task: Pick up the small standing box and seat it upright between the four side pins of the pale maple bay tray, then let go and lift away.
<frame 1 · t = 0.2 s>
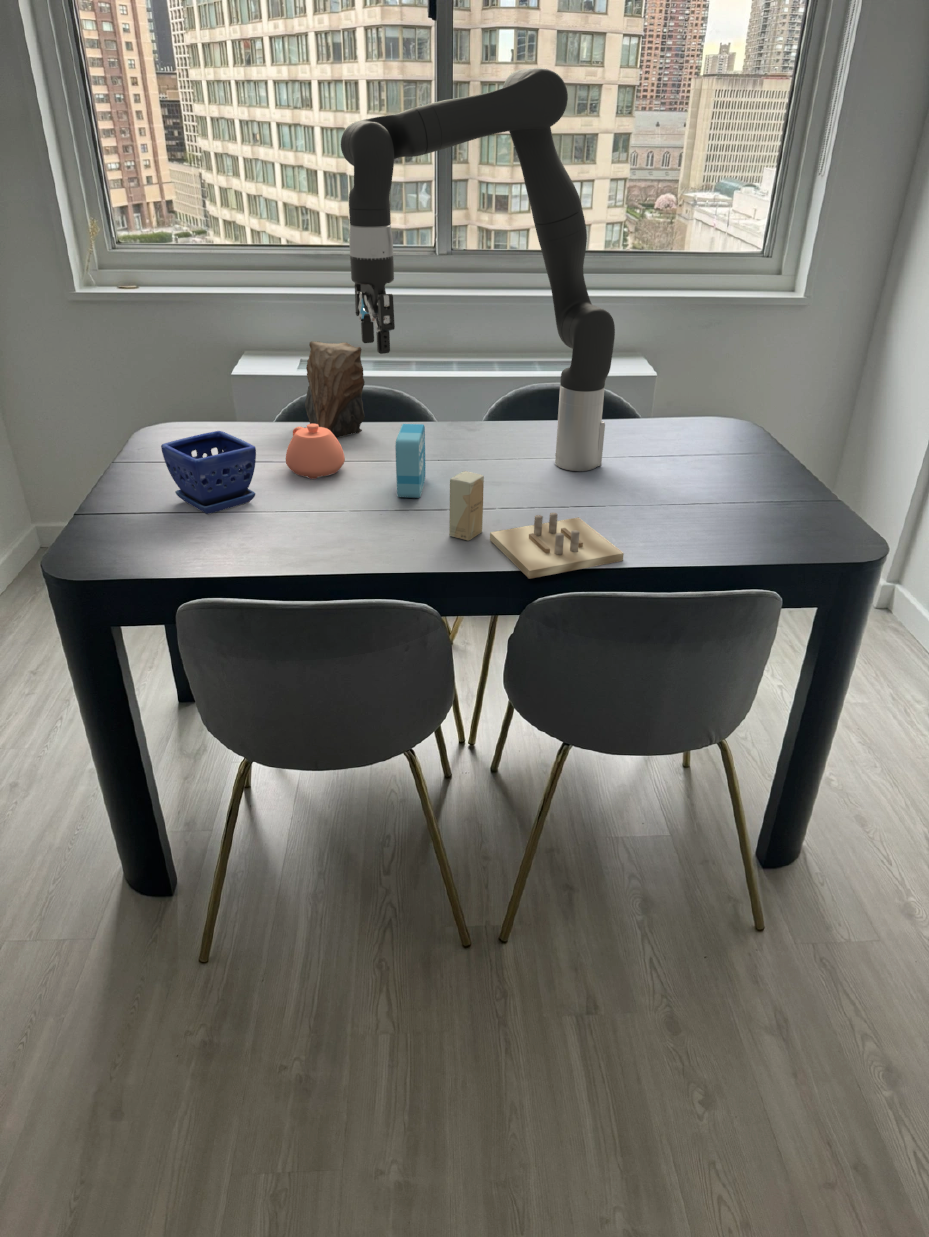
hand: (375, 347, 161), 29 cm above the table, fingers open, 8 cm apart
box: (466, 534, 160), on the table
data package: (411, 489, 179), on the table
flower pot: (216, 503, 171), on the table
bay tray: (554, 550, 155), on the table
owl: (331, 432, 208), on the table
sugar bowl: (314, 471, 187), on the table
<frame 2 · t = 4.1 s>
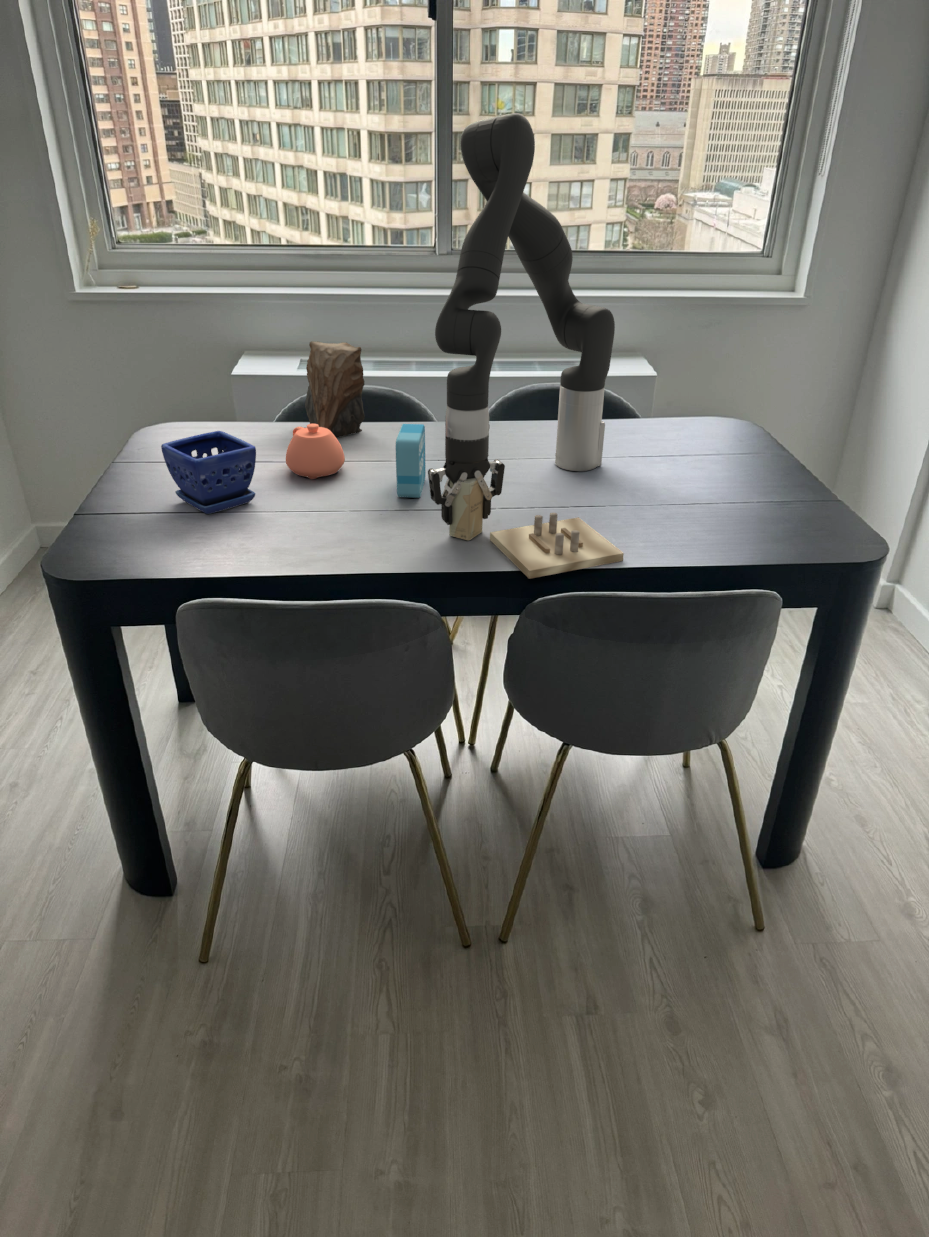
hand: (466, 520, 159), 3 cm above the table, fingers closed on box, 6 cm apart
box: (466, 534, 160), on the table, touching gripper
everything else where it was.
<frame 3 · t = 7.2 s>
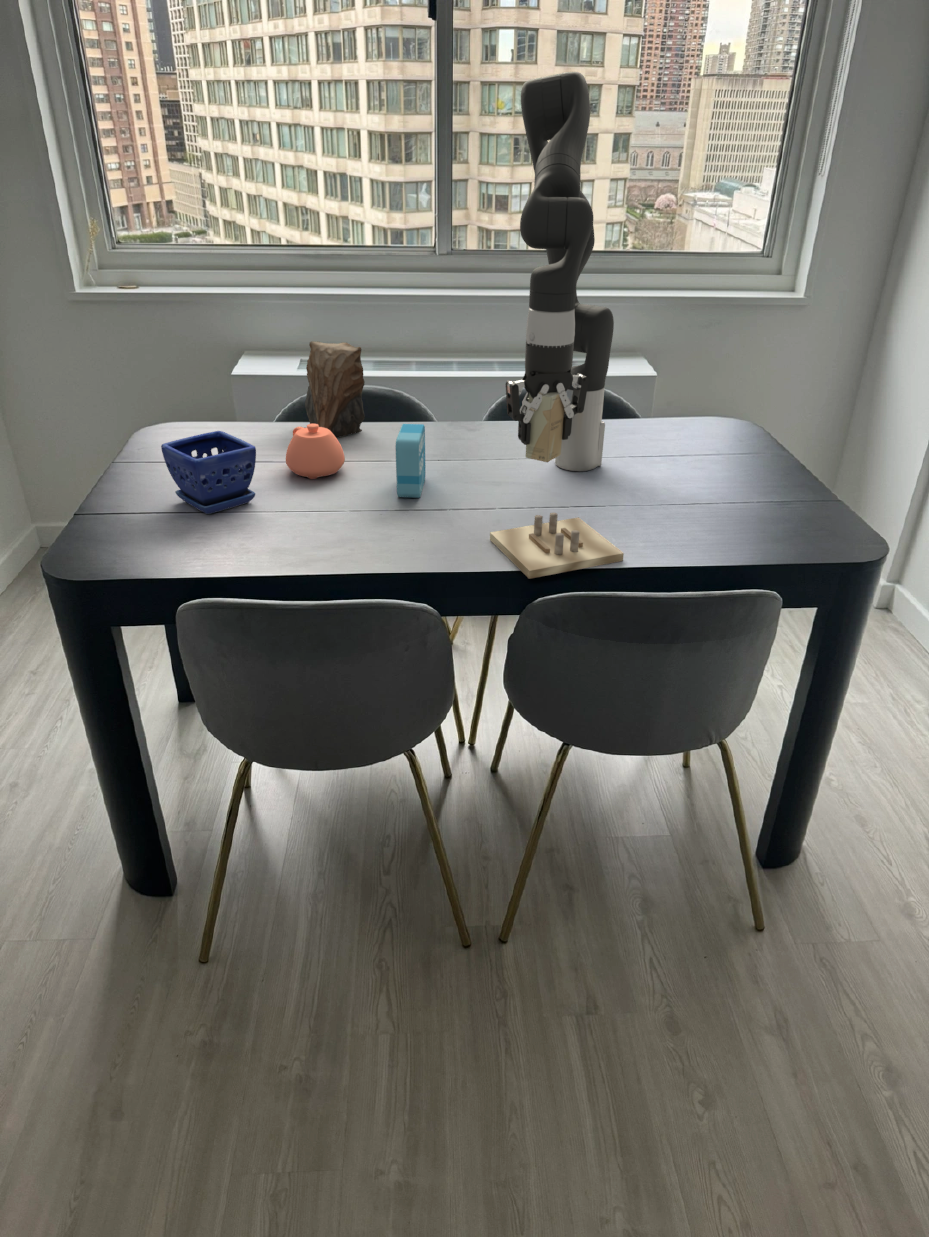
hand: (544, 440, 146), 20 cm above the table, fingers closed on box, 6 cm apart
box: (543, 457, 147), point 17 cm above the table, touching gripper
everything else where it was.
when the fingers open (6 cm above the table, at t = 10.4 s): box stays where it is, resting on bay tray.
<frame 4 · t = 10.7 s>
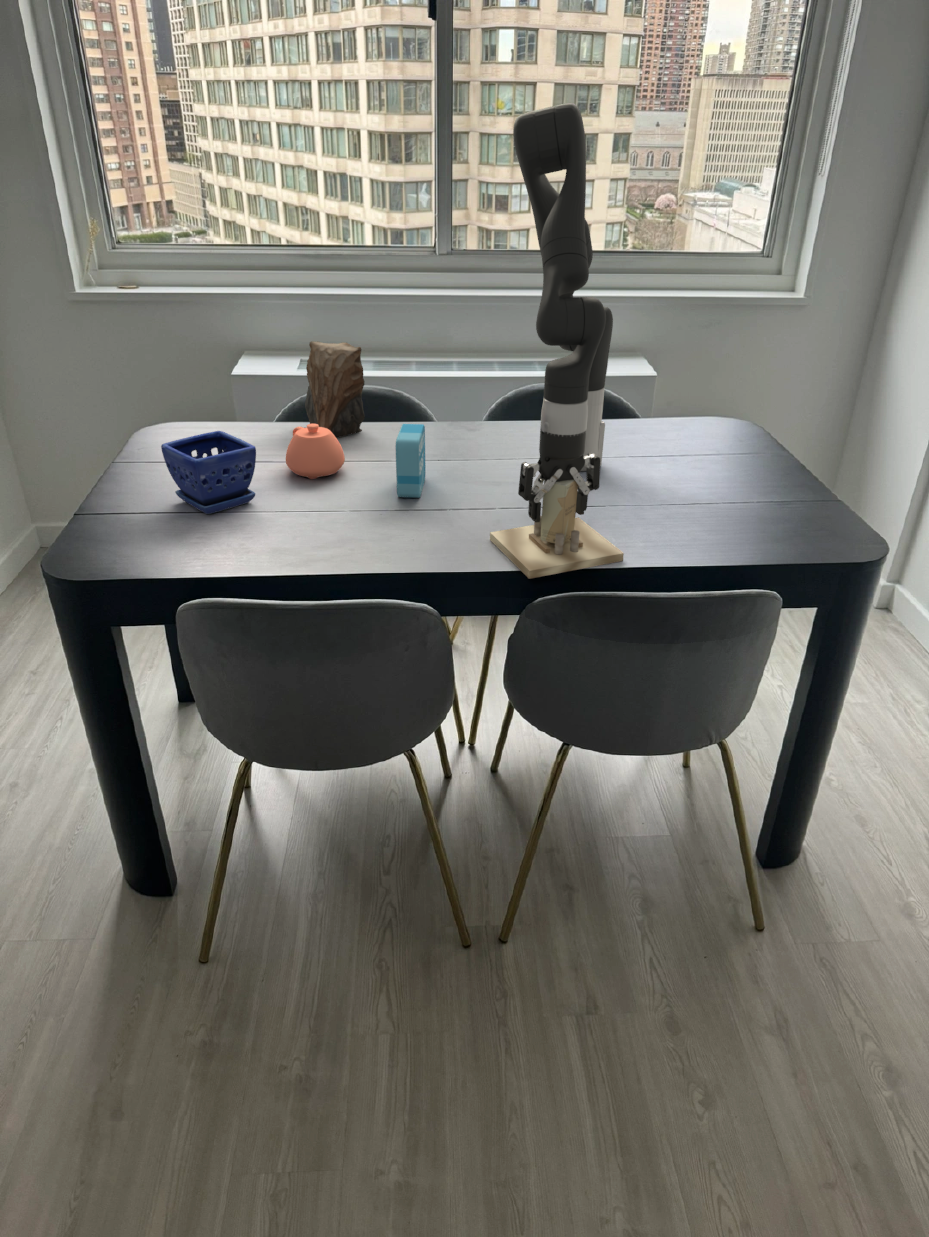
hand: (557, 516, 151), 6 cm above the table, fingers open, 8 cm apart
box: (557, 538, 154), point 2 cm above the table, touching bay tray
everything else where it was.
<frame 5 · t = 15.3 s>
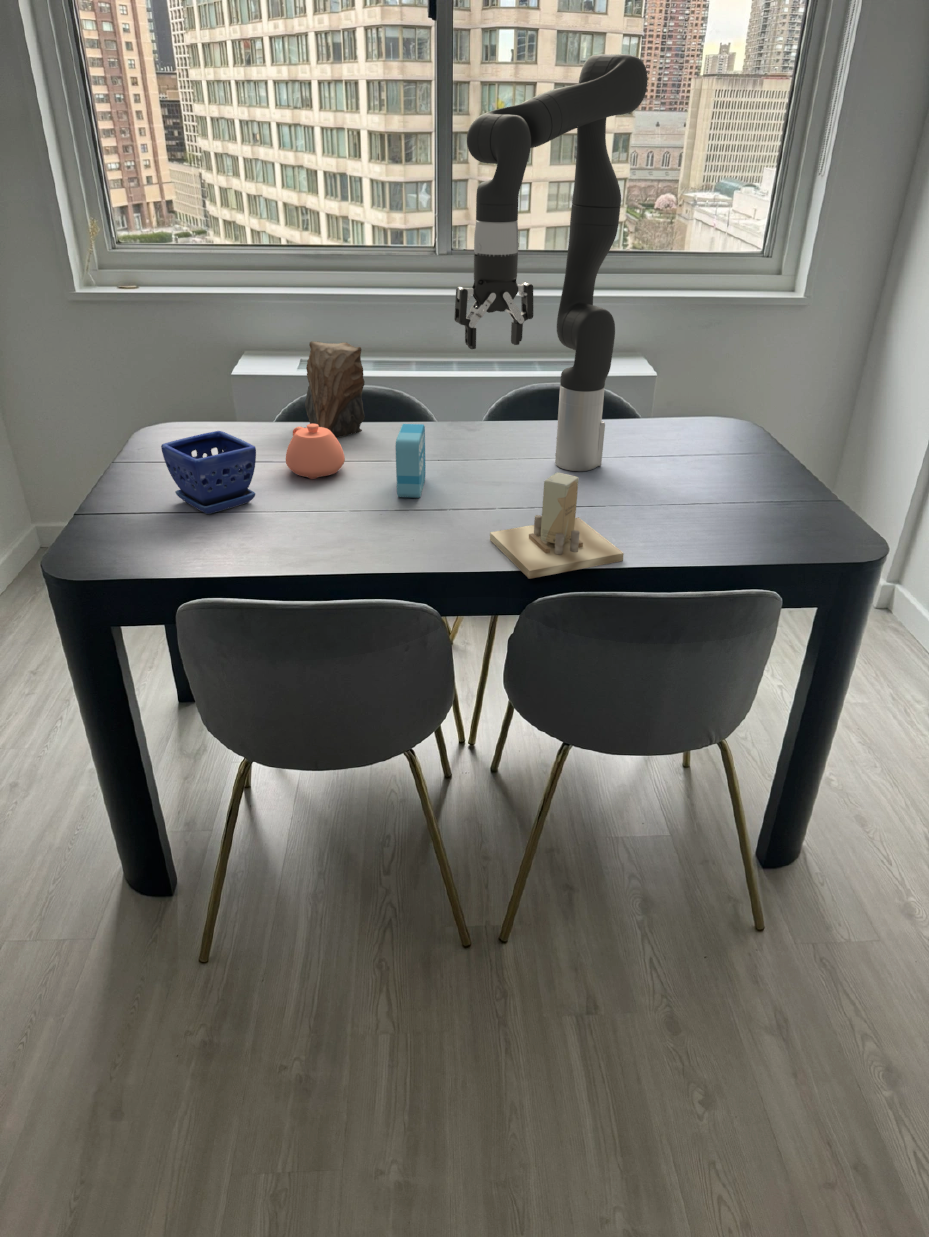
hand: (493, 346, 158), 30 cm above the table, fingers open, 8 cm apart
nothing on the table moved.
at the end: box 0.3 cm off-centre on the bay tray, point 2.1 cm above the bay tray's base; box tilted 0°; the gripper is holding nothing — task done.
